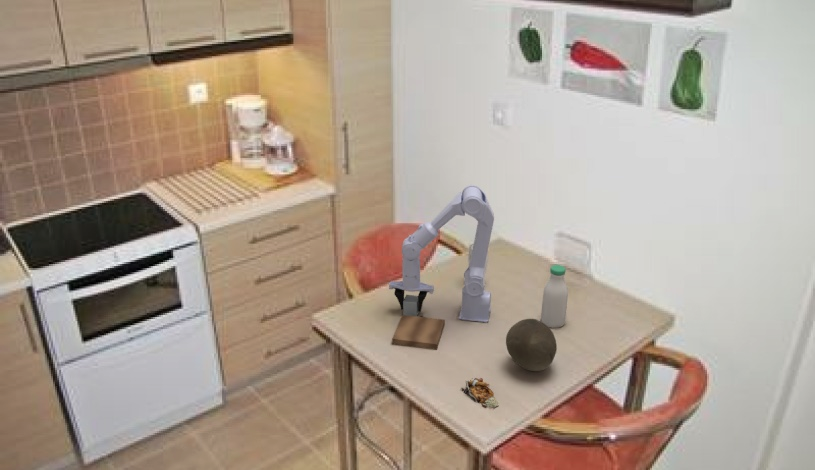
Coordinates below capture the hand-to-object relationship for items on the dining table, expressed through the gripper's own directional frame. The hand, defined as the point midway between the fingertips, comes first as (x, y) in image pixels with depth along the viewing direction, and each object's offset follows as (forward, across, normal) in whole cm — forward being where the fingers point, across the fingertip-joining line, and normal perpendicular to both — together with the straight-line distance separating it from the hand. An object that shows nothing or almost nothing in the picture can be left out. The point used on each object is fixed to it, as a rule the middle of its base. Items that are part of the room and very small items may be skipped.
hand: (411, 309), depth 231 cm
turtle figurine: (+2, -28, +38) cm, 47 cm away
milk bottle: (+2, -46, -4) cm, 46 cm away
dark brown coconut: (+2, -40, +22) cm, 46 cm away
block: (+2, 0, 0) cm, 2 cm away
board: (+1, -5, +12) cm, 13 cm away
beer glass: (+2, -19, -23) cm, 30 cm away
